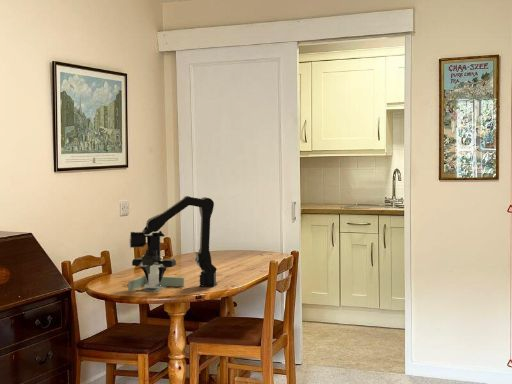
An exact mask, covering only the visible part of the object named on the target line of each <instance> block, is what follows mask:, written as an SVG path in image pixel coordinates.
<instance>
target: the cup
mask: <svg viewBox="0 0 512 384" xmlns="http://www.w3.org/2000/svg"><path fill="white" fill-rule="evenodd" d="M161 257H162V260H160V261H163V260H164V259H163V258H164V257H163V256H161ZM158 267H160V265H154V264H153V265H152V266H150V274H159V269H158ZM144 276H146V275H145V274H144Z"/></svg>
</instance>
